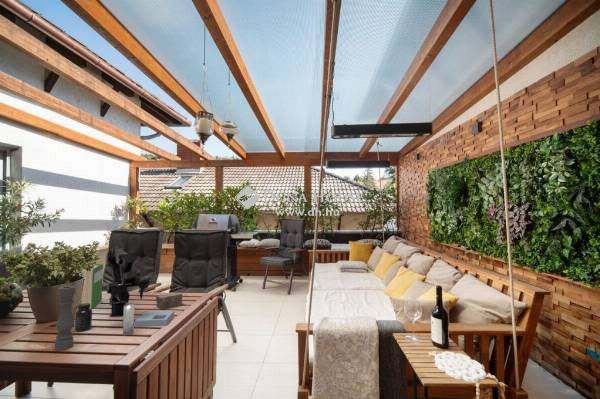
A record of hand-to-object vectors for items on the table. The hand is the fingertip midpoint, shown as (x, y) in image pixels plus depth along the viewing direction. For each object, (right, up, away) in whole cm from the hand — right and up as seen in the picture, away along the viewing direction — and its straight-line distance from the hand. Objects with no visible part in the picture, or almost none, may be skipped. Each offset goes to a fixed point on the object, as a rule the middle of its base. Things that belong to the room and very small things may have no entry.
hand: (131, 300), depth 149 cm
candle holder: (-15, -12, -24) cm, 31 cm away
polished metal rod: (+3, -13, -8) cm, 16 cm away
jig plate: (+8, -14, +9) cm, 18 cm away
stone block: (+4, -16, +33) cm, 37 cm away
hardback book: (-45, -15, +35) cm, 59 cm away
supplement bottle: (-22, -13, -3) cm, 26 cm away
